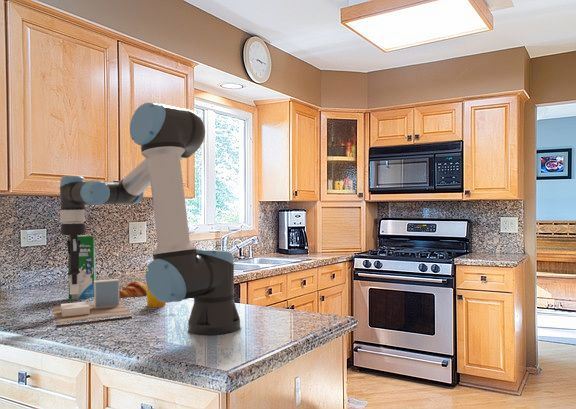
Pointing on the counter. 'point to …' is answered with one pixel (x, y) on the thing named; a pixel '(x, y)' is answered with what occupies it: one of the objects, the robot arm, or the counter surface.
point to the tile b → (106, 293)
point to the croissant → (134, 290)
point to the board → (93, 315)
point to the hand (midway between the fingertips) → (74, 293)
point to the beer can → (153, 300)
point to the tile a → (75, 309)
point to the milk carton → (85, 268)
